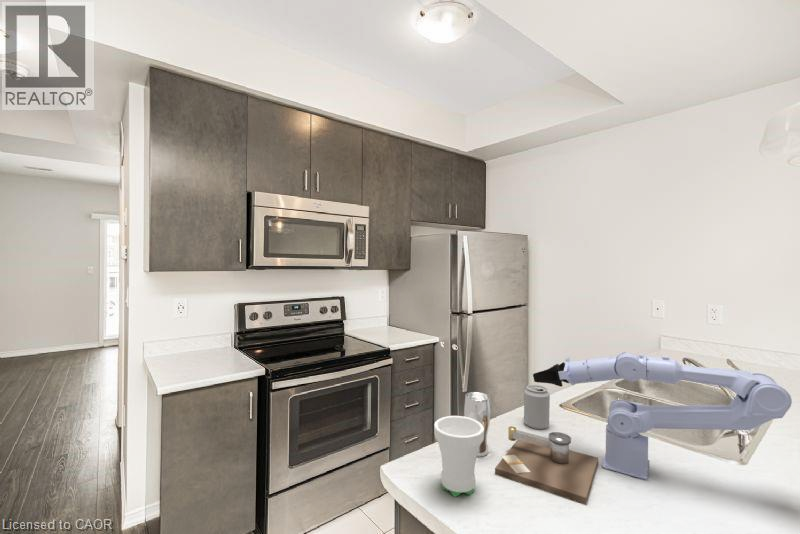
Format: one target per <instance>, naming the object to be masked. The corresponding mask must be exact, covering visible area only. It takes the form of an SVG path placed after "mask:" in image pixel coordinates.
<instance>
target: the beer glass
mask: <svg viewBox="0 0 800 534" xmlns="http://www.w3.org/2000/svg"><path fill="white" fill-rule="evenodd" d="M491 408H492V406H491V396H490V395H489V394H487V393H484V392H482V391H481V392H479V391H471V392H467V393H465V397H464V408H463V409H464V410H463V411H464V413H463V414H464V415H463V416H464V417H469V418H472V419H475V420H477V421H478V422H480V423H481V424H482V425H483V427H484V440H483V441H482V443H481V445H480V447H479V450H478V453H477V456H476V457H479V458H481V457H486V456H487V455H488V454H489V447H488V446H489V445H488V433H489V428H490V423H491Z"/></svg>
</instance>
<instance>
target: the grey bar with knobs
mask: <svg viewBox="0 0 800 534" xmlns="http://www.w3.org/2000/svg"><path fill="white" fill-rule="evenodd" d="M507 433H508V434H507V435H508V440H509V441H511V442H514V441H515V442H516V441H517V440H520V441H523V442H527V443H531V444H534V445H538V446H542V447H545V448H549V449H550V458H551V460H553V461H555V462H557V463H568V462H569V450H570V444H571V443H572V437H571V436H570V435H569V434H567V433H564V432H558V431H553V432H550V433H548V437H546V436H541V435H538V434H534V433H529V432H527V431H523V430H518V429H517V428H516V427H515V426H513V425H512V426H508V432H507Z"/></svg>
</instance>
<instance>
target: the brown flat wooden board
mask: <svg viewBox="0 0 800 534" xmlns="http://www.w3.org/2000/svg"><path fill="white" fill-rule="evenodd" d="M500 458H501V460H500V461H499V462H498V464H497V465H496V467H495V468H494V475H496V476H500V477H502V478H506V479H508V480H512V481H515V482H517V483H520V484H523V485H526V486H530V487H532V488H535V489H538V490H541V491H544V492H546V493H550V494H553V495H556V496H558V497H562V498H565V499H567V500H571V501H573V502H576V503H579V504H583V505H585V506H587V503H588V500H589V496H590V493H591V490H592V487H593V486H592V485H593V483H594V479H595V476H596V472H597V469H598V465H599V457H598V456H594V455H591V454H587V453H583V452H579V451H576V450H571V449H569V462H568V463H557V462H555V461H553V460H551V458H550V449H549V448H545V447H542V446H538V445H534V444H531V443H527V442H523V441H520V440H515V442H514V444H512V446H511V447H510V448H509V449H508V451H507V452H506V454H505V455H501V456H500Z"/></svg>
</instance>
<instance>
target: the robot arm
mask: <svg viewBox="0 0 800 534" xmlns="http://www.w3.org/2000/svg"><path fill="white" fill-rule="evenodd" d="M532 376H533V381H534V383H542V384H551V385H555V386H557V387H563V383H566V384H570V385H571V386H573V385H576V384H577V385H578V384H585V383H587V384H588V383H595V382H596V383H597V382H607V381H613V380H619V379H621V380H625V381H629V382H632V383H633V382H636V381H639V380H643V381H647V382H648V381H649V382H657V383H665V384H672V385H675V384H677V383H679V382H680V381H688V382H692V383H700V384H705V385H711V386H712V385H713V386H718V387H724V388H727V389H729V391H731V392H733V393H734V394H736V396H735V397H734V398H733V399H732V400H731V402H730V403H729V404H714V405H713V404H709V405H708V404H704V405H703V404H701V405H699V404H695V405H694V404H693V405H692V404H691V405H687V404H686V405H685V404H683V405H672V404H671V405H649V404H644V403H642V402H632V401H629V400H627V399H621V398H619V399H615V400H613V401H612V402H611V403H610V405H609V407H608V411H609V412H608V416H607V420H606V421H607V424H606V425H605V453H604V457H603V460H602V463H601V467H602V468H603V469H606V470H610V471H614V472H617V473H621V474H623V475H628V476H631V477H636V478H639V479H642V480H648V469H650V460H649V436H646V435H643V434H644V433H647V432H649V431H651V430H654V429H668V430H712V431H713V430H719V431H720V430H721V431H723V430H724V431H748V430H749V431H751V430H752V429H755V428H757V427H759V426H762V425H763V424H766V423H768V422H770V421H772V420H775V419H776V420H777V419H783V418H784V416H785V415H786V414H787V412H788V411H789V409H790V408H791V407H792V403H793V402H792V401H793V400H792V396H791V395H790V393H789V391H787V390H786V389H785V388H784V387H782V386H781V385H779V384H778V383H777V382H776V381H775V380H774V379H773V378H772V377H771V376H769V375H767V374H764V373H760V372H751V371H747V370H742V369H741V370H740V369H730V368H729V369H727V368H716V367H705V366H704V367H703V366H694V365H693V366H691V365H682V364H680V363H679V362H678V361H677V360H675V359H673V358H672V359H671V358H670V357H669V355H662V356H661V357H654V356H644V353H638V356H637V355H635V354H634V353H632V352H626V351H624V352H621V353H619V354H618V355H617V356H616V355H615V356H610V357H609V356H608V357H607V356H605V357H599V358H598V357H596V358H589V359H582V360H581V359H580V360H573V361H571V360H570V357H565V362H564V361H563V362H561V363H560V364H559V363H556V364H554V365H552V366H551V367H550V368H547V369H544V370H542V371H537V372H534V373H532Z"/></svg>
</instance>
